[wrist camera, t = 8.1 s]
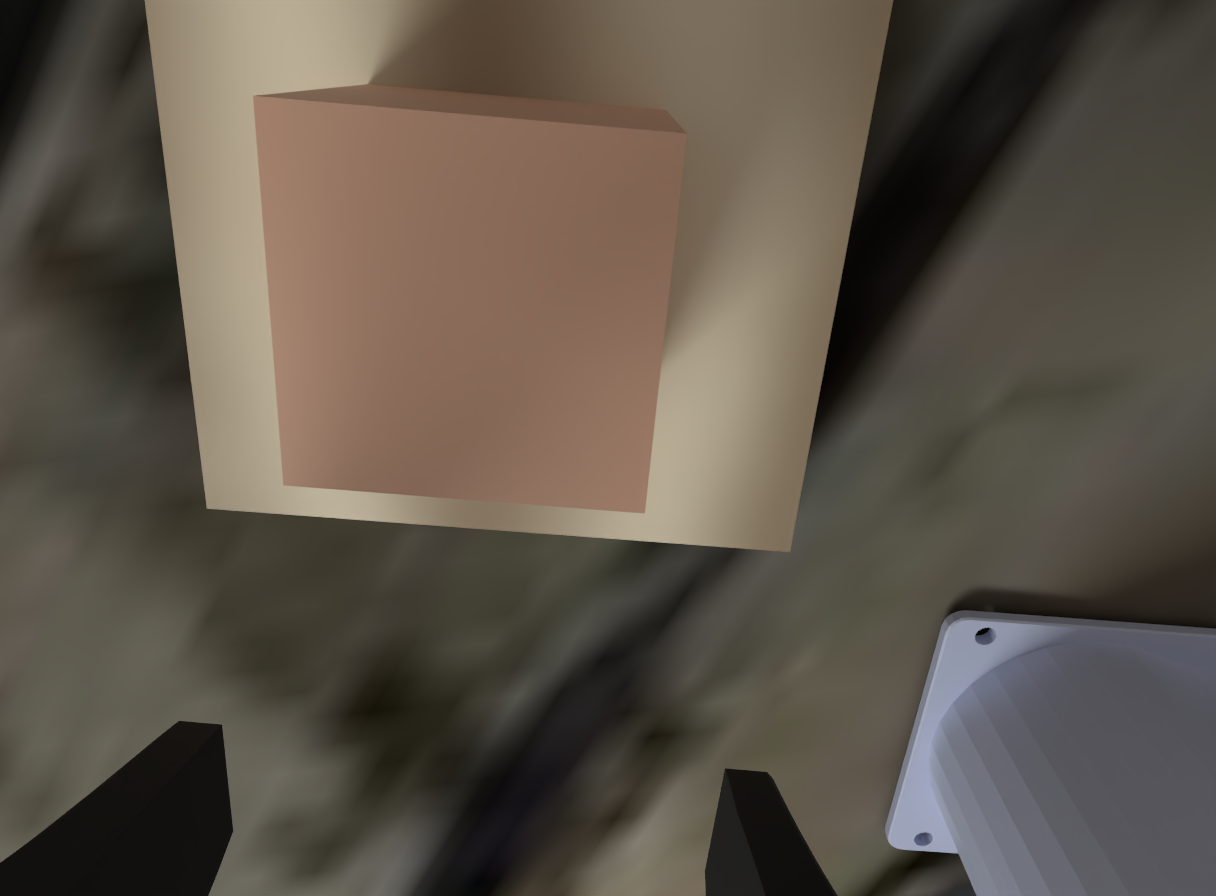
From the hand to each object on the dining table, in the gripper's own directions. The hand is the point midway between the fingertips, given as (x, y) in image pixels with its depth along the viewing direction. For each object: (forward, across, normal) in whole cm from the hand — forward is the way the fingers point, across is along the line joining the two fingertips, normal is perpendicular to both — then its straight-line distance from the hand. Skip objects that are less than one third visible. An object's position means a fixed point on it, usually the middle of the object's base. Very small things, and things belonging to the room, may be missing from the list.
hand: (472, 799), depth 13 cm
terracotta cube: (+6, 0, -7) cm, 9 cm away
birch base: (+9, +1, -7) cm, 12 cm away
